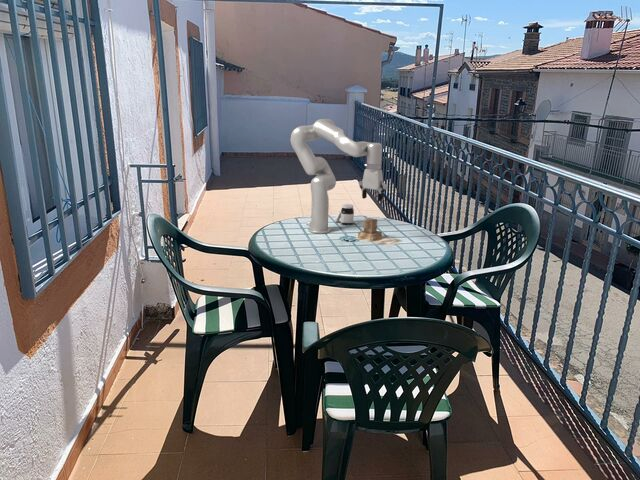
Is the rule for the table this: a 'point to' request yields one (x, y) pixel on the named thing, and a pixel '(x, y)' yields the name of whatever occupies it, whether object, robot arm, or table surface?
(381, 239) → the pocket board
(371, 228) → the walnut block
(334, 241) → the table surface
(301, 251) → the table surface
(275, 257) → the table surface
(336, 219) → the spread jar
